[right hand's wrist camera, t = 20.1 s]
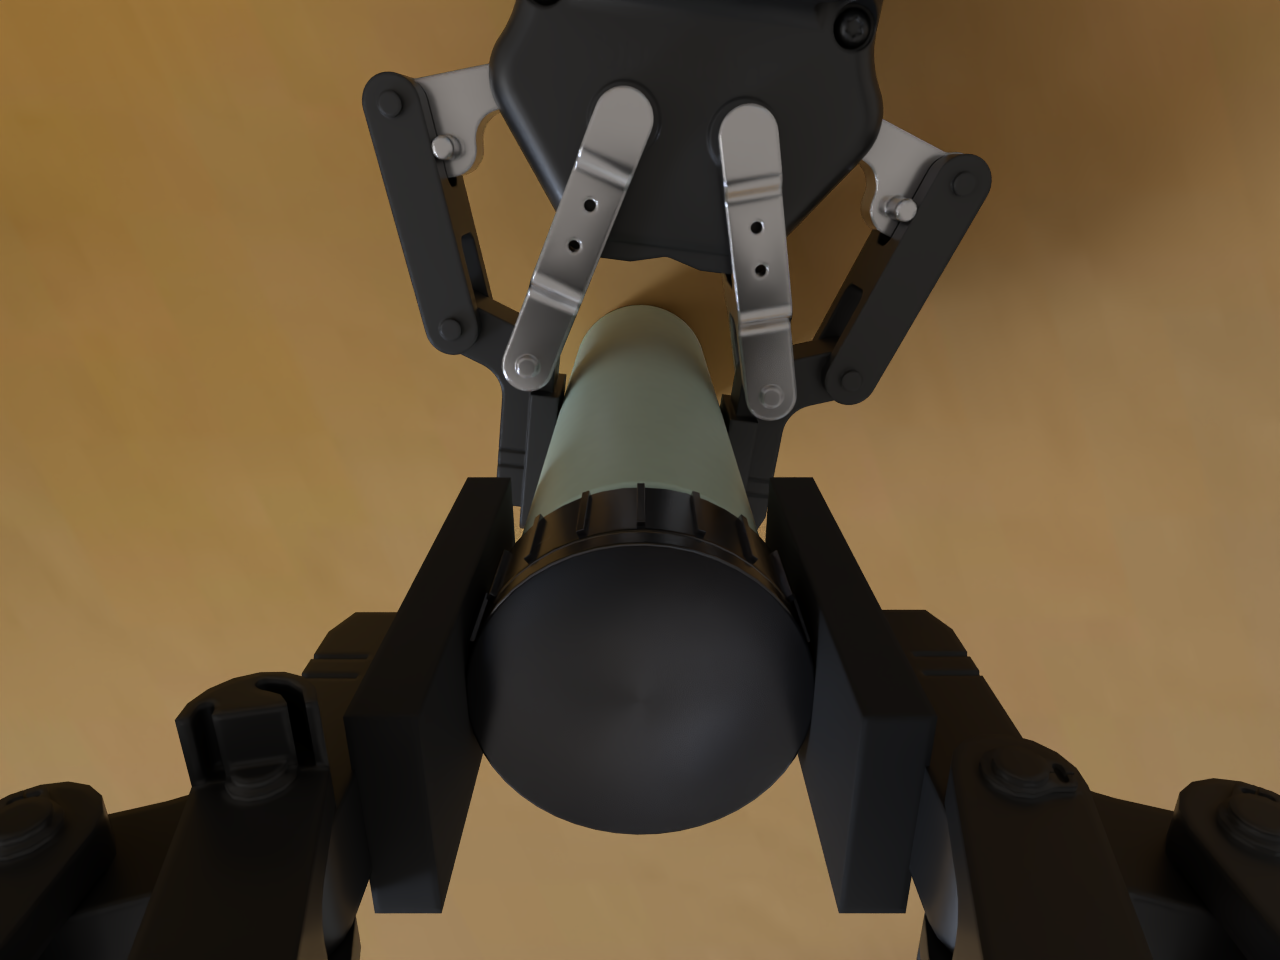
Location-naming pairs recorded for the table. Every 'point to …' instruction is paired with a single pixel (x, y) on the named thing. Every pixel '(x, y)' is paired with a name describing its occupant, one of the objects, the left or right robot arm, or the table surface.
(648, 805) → the lid
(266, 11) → the table surface
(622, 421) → the bottle
